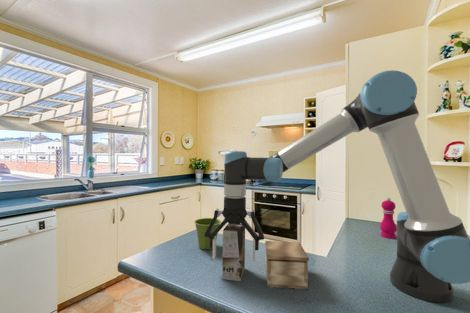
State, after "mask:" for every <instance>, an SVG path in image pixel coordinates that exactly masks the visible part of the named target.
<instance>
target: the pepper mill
mask: <svg viewBox="0 0 470 313" xmlns="http://www.w3.org/2000/svg"><path fill="white" fill-rule="evenodd" d="M381 208H382V213H383V219H382V221H381V222H380V225H379V228H380V230H381V231H380V236H381V237H382V238H386V239H397V224H396V223H395V221H394V214H395V209H396V203H395V201H392V199H391V198H390V197H386V200H384V201H382V202H381Z"/></svg>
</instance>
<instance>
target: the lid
mask: <svg viewBox="0 0 470 313" xmlns="http://www.w3.org/2000/svg"><path fill="white" fill-rule="evenodd" d="M264 244H265V254H266V253H267V259H277V260H296V261H307V262H309V260H310V258H309V256H308V254H307V253H306V251H305V249H304V248H303V246H302V243H300V242H299V241H298V242H297V241H296V242H295V241H280V240H279V241H277V240H276V241H275V240H265V242H264Z"/></svg>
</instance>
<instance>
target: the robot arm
mask: <svg viewBox="0 0 470 313" xmlns="http://www.w3.org/2000/svg"><path fill="white" fill-rule="evenodd" d="M417 95H418V86H417V83H416V82H415V80H414V78H413V77H411V75H409V74H407V73H405V72H403V71H400V70H399V71H398V70H393V69H392V70H384V71H381V72H378V73H376V74H374V75H373V76H372V77H370V78H369V79H368V80H367V81H366V82H365V83H364V84H363V85H362V87H361V89H360V92H359V93H358V95H357V96H356V97H355V98H354V100H352V101H351V102H350V103H349V104H348V105H346V106H344V107H343V108H341V111H340V113H338V114H337V115H336V116H334V117H332V118H331V119H329V120H328V121H326V122H324V123H323V124H321V125H320V126H318V127H316V128H314V129H313V130H311V131H310V132H308V133H307V134H304V136H302V137H299V139H296V141H294V142H292V143H289V145H287V146H286V147H283V149H281V150H279V151H278V152H276V153H274V154H273V155H270V156H269V157H250V156H248V155H247V152H246V151H243V150H242V151H238V150H237V151H231V150H230V151H226V152H225V155H224V164H223V165H224V172H223V175H224V181H223V182H224V183H223V186H224V187H223V189H224V190H223V195H224V197H223V209H222V210H221V209H219V208H216V209H215V211H214V213H213V217H212V218H213V219H212V221H211V223H210V225H209V227H208V229H207V231H206V233H205V235H204V236H205V237H208V238H209V239H210V248H212V257H211V258H212V260H215V259H216V256H217V239H216V237H214V236H215V235H216V234H217V235H218V233H219V232H221V229H222V228H223V229H224V226H225V225H227V224H228V223H230V224H242V225H243V226H244V227H245V230H246V231H247V232H248V233H249V234H250V236H251V237H252V262H256V251H259V247H260V246H259V244H260V241H264V239H265V235H264V234H265V233H264V232H263V231H262V230H263V229H262V228H261V226H260V224H259V222H258V220H257V217H256V213H255V212H256V211H255V210H253V209H252V210H251V211H249V210H248V211H247V208H246V206H247V205H246V204H247V202H246V201H247V198H246V196H247V180H250V181H251V180H255V181H264V182H279V181H281V180H282V177H283V173H285V172H286V171H288V170H290V169H291V168H293V167H295V166H297V165H299V164H300V163H302V162H303V161H305V160H307V159H309V158H311V157H312V156H314V155H316V154H317V153H320V152H321V151H323V150H325V149H326V148H329V146H331V145H333V144H334V143H336V142H338V141H340V140H342V139H343V138H345V137H346V136H348V135H351V134H352V133H360V132H361V131H363V130H365V129H367V128H368V130H369V131H370V132H371V133H374V134H376V135H377V137H378V139H379V141H380V145H381V147H382V149H383V153H384V156H385V159H386V160H387V164H388V166H389V169H390V171H391V174H392V176H393V180H394V182H395V185H396V187H397V188H396V189H397V190H398V194H399V196H400V198H401V201H402V204H403V206H404V209H405V211H400V212H399V213H398V214H397V217H396V227H397V231H396V259H395V261H394V263H393V266H392V268H391V270H390V273H389V280H390V283H391V284H392V285H393V286H394V287H395V288H396V289H398V290H400V291H401V292H403V293H405V294H406V295H409V296H412V297H414V298H417V299H420V300H424V301H427V302H433V303H449V302H451V301H453V299H454V288H453V286H452V284H456V285H457V284H467V283H470V238H469V236H468V233H467V231H466V228H465V226H464V224H463V220H462V218H460V217H458V216H457V215H455V214H453V213H451V211H450V210H449V207H448V205H447V202H446V199H445V196H444V194H443V191H442V189H441V187H440V184H439V181H438V179H437V176H436V174H435V172H434V168H433V167H432V164H431V162H430V158H429V156H428V153H427V151H426V149H425V147H424V143H423V140H422V138H421V135H420V133H419V130H418V128H417V126H416V121H417V119H418V117H419V116H420V113H419V110H418V108H417V105H416V103H415V100H416V98H417ZM221 215H222V217H224V219H223V220H222V221H221V223H220V225H219V226H218V227H217V228H216V229H215V230H214V231H213V233H210V231H211V229H212V227H213V225H214V223H215V222H216V220H217V219H218V218H219V217H221ZM247 216H248V217H249V218H250V219H251V221H252V223H253V226H254V227H255V230H256V231H257V232H256V231H255V230H254V228H252V227H251V225H250V223H248V221H247V220H246V217H247Z"/></svg>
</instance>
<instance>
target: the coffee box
mask: <svg viewBox="0 0 470 313" xmlns="http://www.w3.org/2000/svg"><path fill="white" fill-rule="evenodd" d="M221 259H222V264H221V265H222V266H221V267H222V269H221V270H222V272H221V273H222V274H221V279H222V280H228V281H234V282H235V281H236V282H241V281H242V277H243V274H244V272H245V268H246V265H245V264H246V228H245V227H244V226H243V225H242V224H241V223H240V224H230V223H228V222H227V224H226V226H225V227H223V230H222V258H221Z"/></svg>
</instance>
